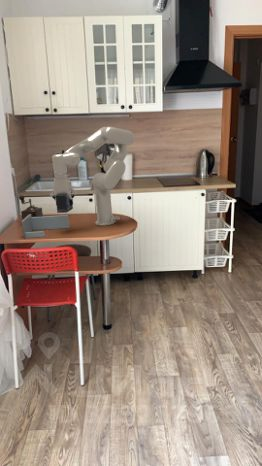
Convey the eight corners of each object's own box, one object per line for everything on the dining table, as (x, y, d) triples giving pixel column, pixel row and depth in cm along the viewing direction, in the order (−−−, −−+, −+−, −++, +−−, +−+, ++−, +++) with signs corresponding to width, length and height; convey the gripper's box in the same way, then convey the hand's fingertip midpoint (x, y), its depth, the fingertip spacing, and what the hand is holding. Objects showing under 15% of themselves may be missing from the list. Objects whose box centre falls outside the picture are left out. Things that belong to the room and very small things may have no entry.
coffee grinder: (44, 220, 258) (41, 194, 252) (36, 225, 247) (32, 197, 242) (24, 220, 262) (20, 194, 257) (15, 225, 252) (11, 198, 246)
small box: (67, 212, 218) (65, 195, 215) (57, 213, 220) (54, 195, 216) (73, 208, 228) (71, 191, 225) (63, 208, 229) (61, 191, 226)
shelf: (69, 227, 236) (67, 211, 233) (64, 235, 220) (62, 218, 217) (31, 229, 237) (29, 214, 234) (23, 238, 220) (21, 221, 218)
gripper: (77, 174, 221) (80, 203, 226) (47, 176, 222) (51, 205, 227) (75, 175, 214) (78, 206, 219) (44, 178, 215) (48, 208, 220)
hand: (64, 206), depth 223 cm, fingers closed on small box, 7 cm apart
